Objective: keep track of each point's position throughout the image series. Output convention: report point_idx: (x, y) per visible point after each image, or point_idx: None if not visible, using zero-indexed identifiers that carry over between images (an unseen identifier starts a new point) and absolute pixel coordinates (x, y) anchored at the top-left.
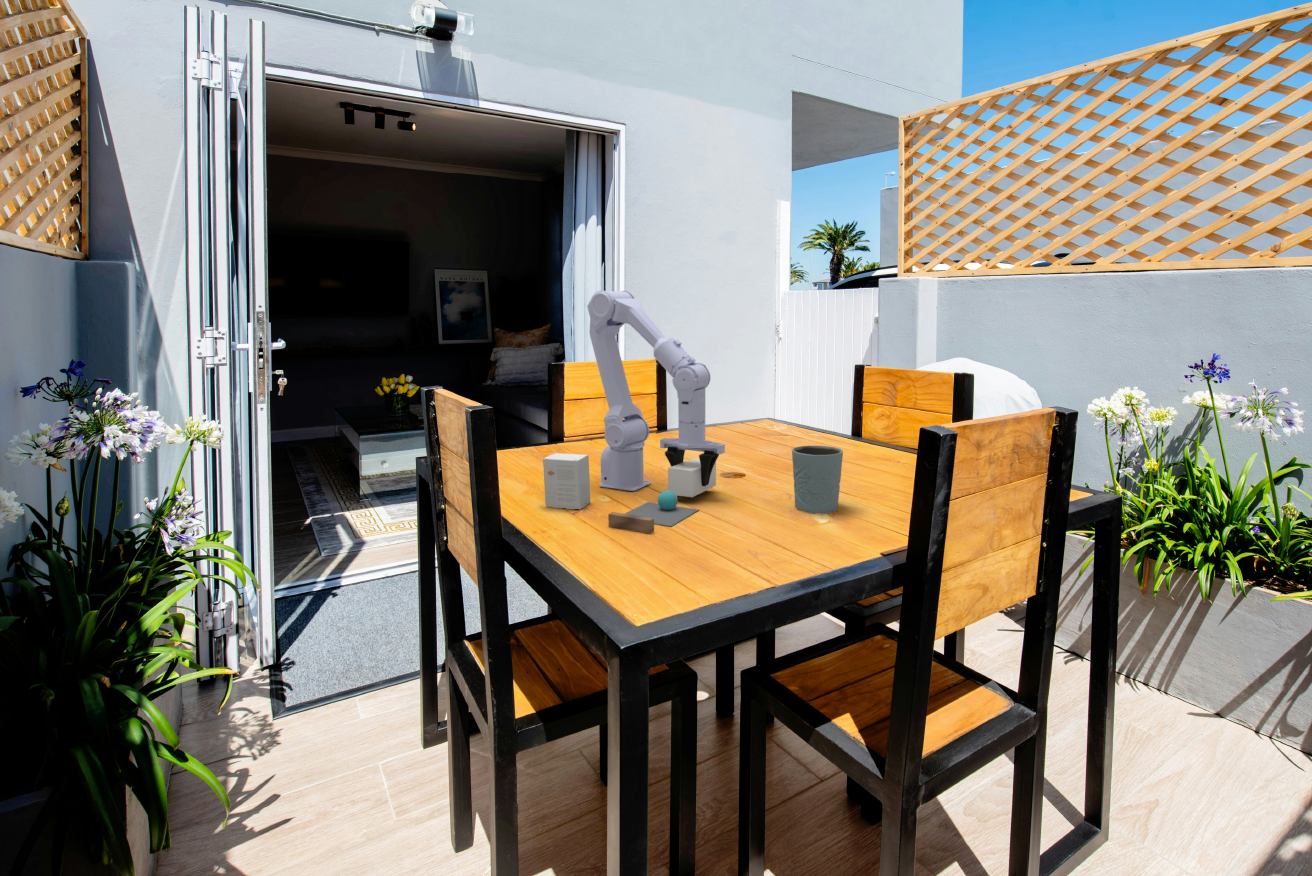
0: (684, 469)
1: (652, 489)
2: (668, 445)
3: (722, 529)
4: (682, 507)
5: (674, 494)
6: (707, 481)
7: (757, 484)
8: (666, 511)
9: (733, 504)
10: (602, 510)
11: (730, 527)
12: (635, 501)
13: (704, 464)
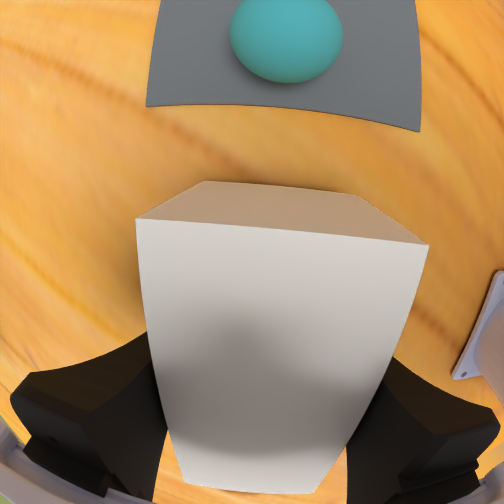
0: (242, 252)
1: (444, 328)
2: (471, 500)
3: (43, 5)
4: (228, 97)
5: (241, 23)
6: None
7: None
8: None
9: (78, 252)
10: (488, 21)
11: (28, 30)
12: (465, 145)
13: (100, 371)
